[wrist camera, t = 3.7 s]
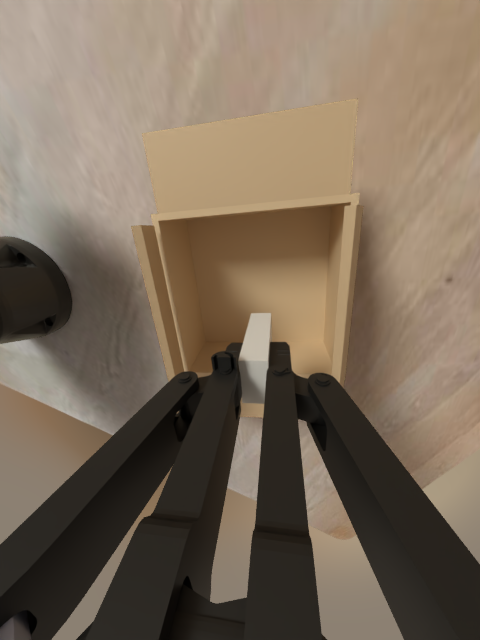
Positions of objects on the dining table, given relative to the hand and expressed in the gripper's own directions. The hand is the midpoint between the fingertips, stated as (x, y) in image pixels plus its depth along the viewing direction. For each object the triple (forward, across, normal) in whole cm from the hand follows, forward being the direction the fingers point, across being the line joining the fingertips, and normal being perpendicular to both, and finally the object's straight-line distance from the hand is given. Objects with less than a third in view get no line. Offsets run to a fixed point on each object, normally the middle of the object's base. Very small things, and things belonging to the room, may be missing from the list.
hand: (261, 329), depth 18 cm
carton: (+14, -1, 0) cm, 14 cm away
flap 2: (+6, +8, 0) cm, 10 cm away
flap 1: (+6, -10, 0) cm, 12 cm away
